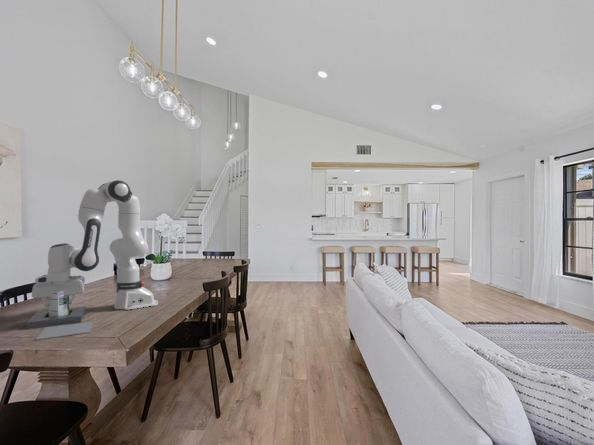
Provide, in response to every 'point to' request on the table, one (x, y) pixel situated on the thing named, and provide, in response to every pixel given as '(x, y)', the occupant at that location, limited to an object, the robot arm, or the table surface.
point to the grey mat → (65, 330)
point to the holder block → (56, 318)
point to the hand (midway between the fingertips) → (58, 305)
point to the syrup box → (58, 304)
